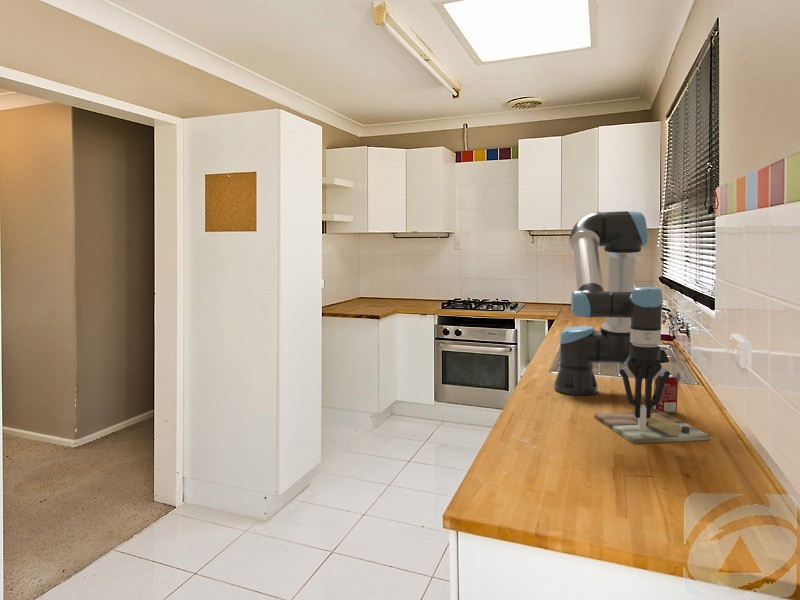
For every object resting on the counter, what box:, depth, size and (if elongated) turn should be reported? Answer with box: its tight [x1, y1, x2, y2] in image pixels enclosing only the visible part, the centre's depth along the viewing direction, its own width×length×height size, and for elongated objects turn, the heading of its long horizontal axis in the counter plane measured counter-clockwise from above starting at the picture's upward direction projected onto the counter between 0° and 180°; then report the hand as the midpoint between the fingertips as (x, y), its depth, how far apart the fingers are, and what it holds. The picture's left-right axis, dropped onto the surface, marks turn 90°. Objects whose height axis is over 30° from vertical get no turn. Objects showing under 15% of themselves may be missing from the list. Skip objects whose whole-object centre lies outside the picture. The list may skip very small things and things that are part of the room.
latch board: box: [594, 410, 711, 444], centre depth 154 cm, size 22×22×3 cm
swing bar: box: [646, 408, 680, 436], centre depth 150 cm, size 13×4×4 cm, turn 10°
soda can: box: [652, 372, 679, 415], centre depth 169 cm, size 7×7×12 cm
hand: (641, 429), depth 146 cm, fingers closed
